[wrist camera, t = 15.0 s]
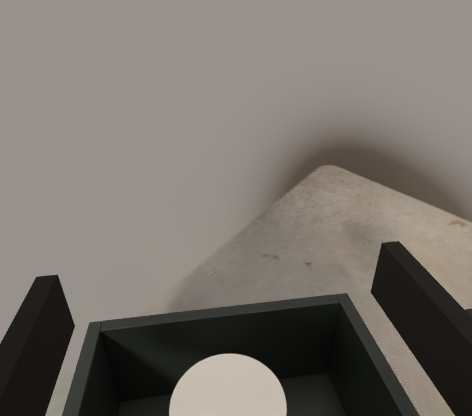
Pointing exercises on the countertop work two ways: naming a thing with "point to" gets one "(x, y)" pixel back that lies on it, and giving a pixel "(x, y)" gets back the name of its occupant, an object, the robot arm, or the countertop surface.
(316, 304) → the dark grey open box
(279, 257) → the countertop surface
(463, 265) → the countertop surface
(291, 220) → the countertop surface
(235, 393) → the downlight
